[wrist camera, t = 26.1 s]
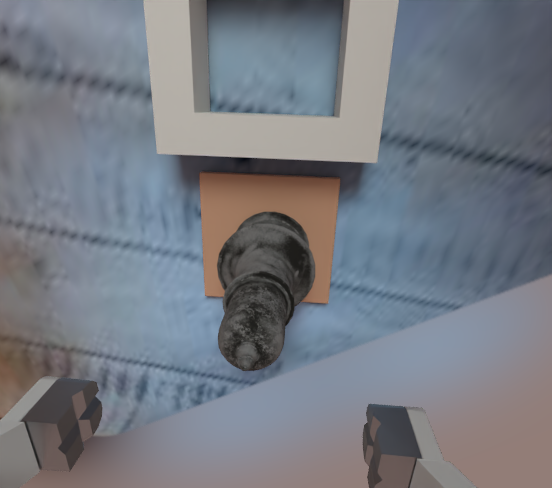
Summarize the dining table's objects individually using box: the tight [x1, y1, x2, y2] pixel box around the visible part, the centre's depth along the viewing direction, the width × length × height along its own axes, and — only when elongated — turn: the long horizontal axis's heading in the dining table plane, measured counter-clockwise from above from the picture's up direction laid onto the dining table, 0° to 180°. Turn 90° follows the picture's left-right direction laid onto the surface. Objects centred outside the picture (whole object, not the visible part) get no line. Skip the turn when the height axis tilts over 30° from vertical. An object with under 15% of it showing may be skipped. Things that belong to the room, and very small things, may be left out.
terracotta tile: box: [199, 171, 340, 303], centre depth 24 cm, size 9×9×1 cm
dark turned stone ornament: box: [217, 212, 315, 371], centre depth 19 cm, size 6×6×12 cm
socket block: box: [144, 0, 399, 163], centre depth 19 cm, size 12×12×4 cm
